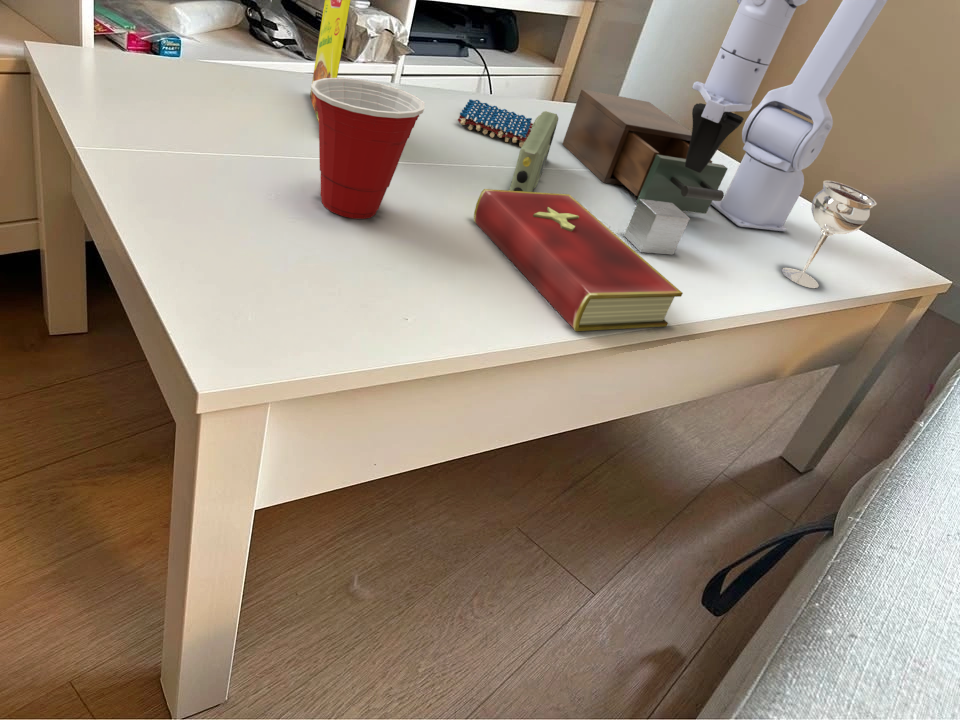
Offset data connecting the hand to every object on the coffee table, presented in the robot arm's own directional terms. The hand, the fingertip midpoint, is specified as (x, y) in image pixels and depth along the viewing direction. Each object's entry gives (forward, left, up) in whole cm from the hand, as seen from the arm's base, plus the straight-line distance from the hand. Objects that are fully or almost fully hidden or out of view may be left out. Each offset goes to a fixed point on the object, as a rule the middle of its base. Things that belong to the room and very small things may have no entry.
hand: (693, 168), depth 93 cm
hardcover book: (+21, +11, -9) cm, 26 cm away
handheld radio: (+16, -10, -9) cm, 21 cm away
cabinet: (-5, -21, -9) cm, 24 cm away
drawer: (-5, -10, -8) cm, 14 cm away
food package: (+40, -24, -9) cm, 48 cm away
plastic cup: (+42, +1, -9) cm, 43 cm away
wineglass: (-16, +9, -9) cm, 21 cm away
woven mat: (+12, -30, -9) cm, 34 cm away
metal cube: (+5, +4, -9) cm, 11 cm away
